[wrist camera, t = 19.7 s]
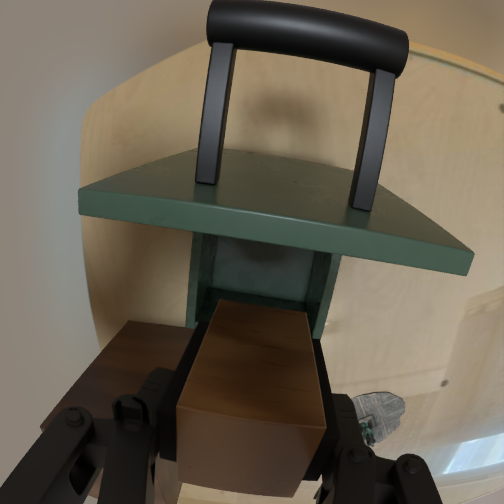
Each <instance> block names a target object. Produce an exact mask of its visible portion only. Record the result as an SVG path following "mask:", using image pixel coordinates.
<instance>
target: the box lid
mask: <svg viewBox="0 0 504 504" xmlns="http://www.w3.org/2000/svg"><path fill="white" fill-rule="evenodd" d="M206 34H207V41H208V44H209V46H210V47H212V48H211V54H210V61H209V67H208V74H207V81H206V88H205V95H204V102H203V110H202V118H201V126H200V134H199V143H198V148H196V149H193V150H189V151H186V152H182V153H179V154H176V155H173V156H169V157H166V158H163V159H160V160H157V161H154V162H151V163H148V164H145V165H142V166H139V167H136V168H133V169H130V170H127V171H124V172H122V173H119V174H116V175H113V176H111V177H108V178H105V179H103V180H100V181H97V182H95V183H92V184H90V185H87V186H85V187H82V188H80V189H79V190H78V203H79V204H78V205H79V214H80V215H85V216H92V217H99V218H106V219H113V220H120V221H127V222H134V223H140V224H147V225H154V226H161V227H167V228H174V229H180V230H187V231H194V232H200V233H207V234H213V235H220V236H226V237H233V238H239V239H245V240H252V241H258V242H264V243H271V244H277V245H283V246H289V247H296V248H302V249H308V250H314V251H320V252H326V253H332V254H339V255H345V256H351V257H357V258H363V259H369V260H375V261H380V262H386V263H392V264H398V265H404V266H410V267H416V268H421V269H427V270H433V271H439V272H444V273H450V274H456V275H461V276H467V274H468V271H469V269H470V266H471V263H472V260H473V257H474V252H473V251H472V250H470V249H469V248H468V247H467V246H465V245H464V244H463V243H462V242H460V241H459V240H458V239H456V238H455V237H454V236H453V235H451V234H450V233H449V232H447V231H446V230H445V229H443V228H442V227H441V226H439V225H438V224H437V223H435V222H434V221H432V220H431V219H430V218H428V217H427V216H426V215H424V214H423V213H421V212H420V211H418V210H417V209H416V208H414V207H413V206H411V205H410V204H408V203H407V202H405V201H404V200H402V199H401V198H399V197H398V196H396V195H395V194H393V193H392V192H390V191H389V190H387V189H386V188H384V187H383V186H381V185H380V184H378V179H379V174H380V169H381V164H382V159H383V154H384V149H385V143H386V138H387V132H388V126H389V120H390V114H391V107H392V100H393V93H394V85H395V79H397V78H398V77H399V76H400V75H401V73H402V72H403V70H404V68H405V65H406V62H407V58H408V52H409V40H408V36H407V34H406V33H405V32H404V31H403V30H399V29H397V28H394V27H390V26H387V25H384V24H381V23H377V22H374V21H371V20H367V19H363V18H360V17H356V16H351V15H348V14H344V13H339V12H335V11H330V10H325V9H320V8H314V7H309V6H303V5H296V4H290V3H281V2H274V1H264V0H213V1H212V3H211V5H210V8H209V11H208V16H207V25H206ZM237 49H240V50H251V51H260V52H269V53H277V54H284V55H290V56H297V57H303V58H308V59H314V60H319V61H324V62H329V63H334V64H338V65H343V66H347V67H351V68H355V69H359V70H363V71H367V72H370V77H369V84H368V92H367V99H366V105H365V112H364V118H363V124H362V130H361V136H360V142H359V148H358V153H357V158H356V164H355V169H354V171H353V170H349V169H344V168H339V167H334V166H329V165H324V164H319V163H313V162H308V161H302V160H297V159H291V158H285V157H278V156H272V155H266V154H259V153H252V152H244V151H237V150H229V149H223V145H224V137H225V129H226V122H227V114H228V107H229V100H230V93H231V86H232V79H233V72H234V65H235V59H236V52H237Z"/></svg>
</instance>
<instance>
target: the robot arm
mask: <svg viewBox="0 0 504 504" xmlns="http://www.w3.org/2000/svg"><path fill="white" fill-rule="evenodd" d="M209 324H210V322H205V321H200V320H199V322H198V324H197V326H196V328H195V330H194V332H193V334H192V336H191V338H190V341H189V343H188V345H187V347H186V349H185V351H184V353H183V355H182V357H181V359H180V362H179V364H178V366H177V368H176V370H170V369H166V368H162V367H156V368H155V369H154V370H152V371H151V372H149V374H148V375H147V377H146V379H145V382H143V384H142V386H141V388H140V389H139V391H138V393H137V394H124V395H120V396H118V397H117V398H115V399H114V401H113V402H112V410H113V416H114V418H112V419H103V418H92V415H91V414H90V412H89V411H88V410H86V409H85V408H83V407H79V406H69V407H66V408H64V409H62V410H61V411H60V412H59V413H58V414H57V415H56V417H55V418H54V419H53V420H52V422H51V423H50V424H49V425H48V427H47V428H46V429H45V430H44V432H43V433H42V434H41V435H40V437H39V438H38V439H37V440H36V442H35V443H34V444H33V446H32V447H31V448H30V449H29V451H28V452H27V453H26V454H25V456H24V457H23V458H22V460H21V461H20V462H19V464H18V465H17V466H16V467H15V469H14V470H13V472H12V473H11V474H10V475H9V477H8V478H7V479H6V481H5V482H4V483H3V485H2V486H1V487H0V504H83V503H84V501H85V499H86V497H87V496H88V494H89V492H90V490H91V488H92V486H93V485H94V483H95V481H96V479H97V477H98V475H99V474H100V472H101V470H102V468H104V470H103V475H102V480H101V485H100V491H99V496H98V502H97V504H154V499H155V479H156V458H157V455H158V453H159V456H160V458H161V459H165V460H169V461H173V462H177V454H176V405H177V403H178V400H179V398H180V395H181V393H182V390H183V388H184V386H185V383H186V381H187V378H188V376H189V373H190V371H191V368H192V366H193V363H194V361H195V358H196V356H197V353H198V351H199V349H200V346H201V344H202V341H203V339H204V336H205V334H206V331H207V329H208V326H209ZM311 340H312V345H313V351H314V356H315V362H316V367H317V373H318V379H319V384H320V390H321V396H322V402H323V408H324V414H325V420H326V427H327V428H326V431H325V433H324V435H323V437H322V439H321V442H320V444H319V446H318V448H317V450H316V452H315V455H314V457H313V459H312V461H311V463H310V465H309V467H308V469H307V471H306V473H305V475H304V477H303V479H302V480H306V481H318V479H319V477H320V475H321V474H322V481H323V483H322V484H321V486H320V488H319V489H318V491H317V492H316V494H315V496H314V498H313V499H316V498H317V500H316V504H443V503H442V500H441V498H440V495H439V493H438V490H437V488H436V485H435V483H434V480H433V478H432V476H431V473H430V471H429V468H428V466H427V464H426V462H425V461H424V459H422V458H421V457H420V456H417V455H415V454H404V455H401V456H400V457H399V458H398V459H397V460H396V461H395V460H390V459H385V458H381V457H378V456H376V455H375V453H374V451H373V450H372V449H371V448H370V447H369V446H367V445H366V444H365V443H364V439H363V435H362V431H361V428H360V424H359V420H358V417H357V413H356V409H355V406H354V402H353V401H352V400H351V399H350V398H349V396H348V395H347V394H334V393H331V388H330V383H329V379H328V374H327V370H326V365H325V361H324V356H323V352H322V347H321V343H320V339H315V338H311Z"/></svg>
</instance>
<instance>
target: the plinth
mask: <svg viewBox="0 0 504 504" xmlns="http://www.w3.org/2000/svg"><path fill="white" fill-rule="evenodd" d="M194 330H195V329H190V328H184V327H174V326H166V325H158V324H150V323H142V322H135V321H128V322H127V323H126V324H125V325H124V326H123V327H122V329H121V330H120V331H119V332H118V333H117V334H116V335H115V337H114V338H113V339H112V340H111V341H110V342H109V343H108V345H107V346H106V347H105V348H104V349H103V350H102V352H101V353H100V354H99V355H98V356H97V358H96V359H95V360H94V361H93V362H92V363H91V364H90V366H89V367H88V368H87V369H86V370H85V372H84V373H83V374H82V375H81V376H80V378H79V379H78V380H77V381H76V382H75V383H74V385H73V386H72V387H71V388H70V390H69V391H68V392H67V393H66V394H65V396H64V397H63V398H62V399H61V401H60V402H59V403H58V404H57V405H56V407H55V408H54V409H53V410H52V412H51V413H50V414H49V415H48V417H47V418H46V419H45V420H44V422H43V423H42V424H41V425H40V428H41V430H42V432H44V430H45V429H46V428H47V427H48V425H49V424H50V423H51V422H52V420H53V419H54V418H55V417H56V415H57V414H58V413H59V412H60V411H61V410H62V409H64V408H66V407H69V406H79V407H83V408H85V409H86V410H88V411H89V412H90V414H91V415H92V418H103V419H112V418H114V416H113V410H112V402H113V401H114V399H115V398H117V397H118V396H120V395H124V394H137V393H138V391H139V389H140V388H141V386H142V384H143V382H145V379H146V377H147V375H148V374H149V372H151V371H152V370H154V369H155V368H156V367H162V368H166V369H170V370H176V368H177V366H178V364H179V362H180V359H181V357H182V355H183V353H184V351H185V349H186V347H187V345H188V343H189V341H190V338H191V336H192V334H193V332H194ZM103 470H104V468H102V470H101V472H100V474H99V475H98V477H97V479H96V481H95V483H94V485H93V486H92V488H91V490H90V492H89V494H88V495H89V496H92V497H94V498H97V499H98V496H99V491H100V485H101V480H102V475H103ZM182 483H183V482H179V481H177V462H173V461H169V460H165V459H161V458H160V456H159V453H158V455H157V458H156V479H155V499H154V504H177V500H178V497H179V493H180V490H181V486H182Z"/></svg>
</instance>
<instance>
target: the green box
mask: <svg viewBox="0 0 504 504" xmlns="http://www.w3.org/2000/svg"><path fill="white" fill-rule="evenodd" d="M341 256H342V255H339V254H332V253H326V252H320V251H314V250H308V249H302V248H296V247H289V246H283V245H277V244H271V243H264V242H258V241H252V240H245V239H239V238H233V237H226V236H220V235H213V234H207V233H200V232H194V231H193V240H192V250H191V260H190V272H189V284H188V296H187V310H186V326H185V327H186V328H190V329H195V328H196V326H197V324H198V322H199V320H200V321H205V322H211V319H212V317H213V314H214V312H215V309H216V307H217V305H218V302H219V300H220V299H223V300H229V301H235V302H241V303H247V304H253V305H259V306H266V307H272V308H279V309H286V310H292V311H299V312H306V314H307V319H308V324H309V329H310V335H311V338H315V339H320V340H321V336H322V333H323V329H324V325H325V322H326V318H327V314H328V310H329V306H330V302H331V299H332V295H333V290H334V286H335V282H336V278H337V274H338V269H339V265H340V261H341Z"/></svg>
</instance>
